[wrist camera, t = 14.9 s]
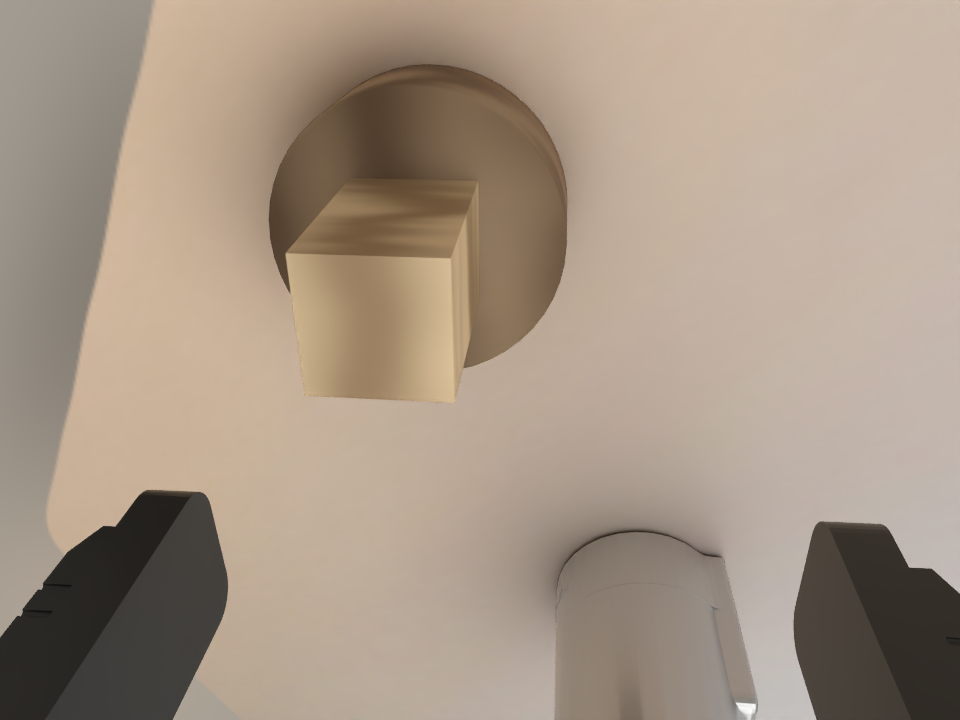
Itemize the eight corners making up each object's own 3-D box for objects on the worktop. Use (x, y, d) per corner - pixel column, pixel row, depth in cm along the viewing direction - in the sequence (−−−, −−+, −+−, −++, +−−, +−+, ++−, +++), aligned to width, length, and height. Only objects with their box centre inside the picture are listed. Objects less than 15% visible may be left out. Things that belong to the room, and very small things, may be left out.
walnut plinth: (573, 65, 33) (573, 87, 28) (561, 326, 38) (560, 378, 34) (289, 63, 34) (248, 85, 29) (320, 317, 40) (289, 366, 35)
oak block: (478, 180, 30) (450, 258, 23) (479, 300, 33) (454, 402, 26) (349, 177, 31) (285, 253, 24) (360, 295, 33) (304, 395, 26)
